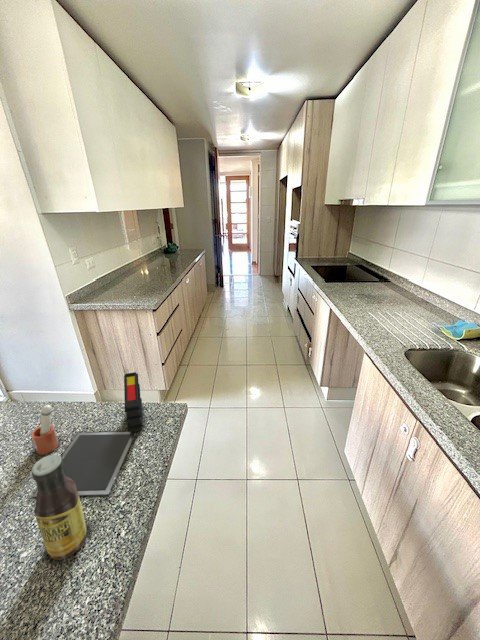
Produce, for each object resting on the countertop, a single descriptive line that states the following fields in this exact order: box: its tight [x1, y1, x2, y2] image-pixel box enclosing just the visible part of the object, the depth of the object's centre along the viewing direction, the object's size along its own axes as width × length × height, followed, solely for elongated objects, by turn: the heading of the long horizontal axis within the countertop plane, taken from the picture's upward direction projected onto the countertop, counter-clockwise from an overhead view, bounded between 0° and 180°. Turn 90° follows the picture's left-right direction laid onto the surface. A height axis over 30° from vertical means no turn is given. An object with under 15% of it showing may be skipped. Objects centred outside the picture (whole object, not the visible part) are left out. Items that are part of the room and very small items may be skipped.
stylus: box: [40, 404, 53, 436], centre depth 66 cm, size 2×2×14 cm
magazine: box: [123, 371, 144, 432], centre depth 76 cm, size 4×13×15 cm, turn 21°
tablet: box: [32, 431, 137, 498], centre depth 64 cm, size 16×18×1 cm
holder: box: [31, 424, 59, 455], centre depth 67 cm, size 5×5×6 cm
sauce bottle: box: [31, 454, 87, 561], centre depth 45 cm, size 7×6×20 cm
